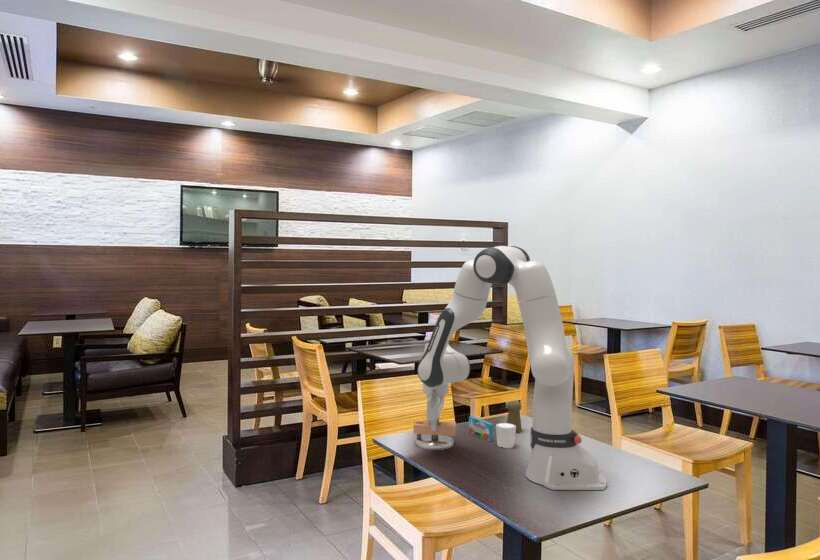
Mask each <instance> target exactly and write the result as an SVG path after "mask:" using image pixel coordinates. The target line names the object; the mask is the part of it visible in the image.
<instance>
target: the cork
mask: <svg viewBox="0 0 820 560" xmlns="http://www.w3.org/2000/svg"><path fill="white" fill-rule="evenodd" d="M506 407H507V410H508V412H507V419H506V423H510V424H514V425H515V426H516V432H515V434H521V433H522V432H523V430H522V420H521V419H522V418H521V412H520V411H521V410H522V403H520V402H519V401H516V400H515V401H513V400H512V401H509V402H507V404H506Z"/></svg>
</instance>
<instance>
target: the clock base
mask: <svg viewBox="0 0 820 560" xmlns="http://www.w3.org/2000/svg"><path fill="white" fill-rule="evenodd" d="M454 443H455V441H454V438H453V437H452V436H443V435H428V434H416V438H415V445H416V446H417V447H418V448H419V449H422V450H426V451H435V450H438V451H445V449H447V450H450V449H452V448H453V447H454V446H453V445H454ZM451 447H452V448H451ZM449 448H450V449H449Z"/></svg>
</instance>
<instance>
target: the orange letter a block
mask: <svg viewBox="0 0 820 560" xmlns="http://www.w3.org/2000/svg"><path fill="white" fill-rule="evenodd" d="M413 434H414V435H417V434H421V435H427V434H428V435H443V436H449V437H455V436H456V434H457V422H451V421H440V420H439V421H437V429H436V431H431V423H430V421H427V420H423V419H422V420H419V419H418V420H415V423H413Z"/></svg>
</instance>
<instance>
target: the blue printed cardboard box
mask: <svg viewBox="0 0 820 560" xmlns="http://www.w3.org/2000/svg"><path fill="white" fill-rule="evenodd" d="M493 429H494V424H493V423H492V422H489V421H486V420H483V419H481V418H479V417H476V416H473V415H471V416H468V428H467V430H468V434H470V433H471V435H472V434H473V436H475V437H477V436H478V437H477V438H479V437H480V438H479V439H482V440H484V439H485V440H484V441H486V440H487V441H486V442H492V441H493V436H494V435H493V434H494V430H493Z"/></svg>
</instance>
